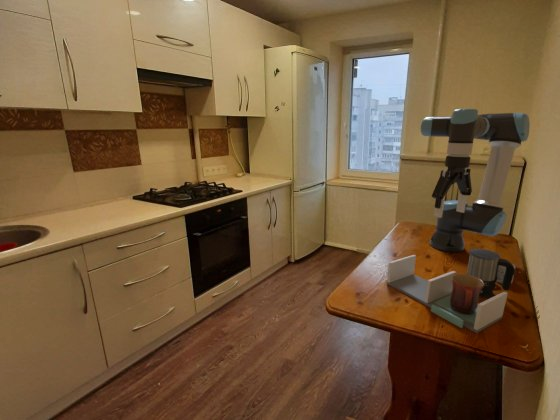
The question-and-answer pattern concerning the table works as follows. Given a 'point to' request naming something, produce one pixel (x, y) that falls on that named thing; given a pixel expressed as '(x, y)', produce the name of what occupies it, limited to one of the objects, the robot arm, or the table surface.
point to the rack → (442, 296)
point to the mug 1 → (465, 293)
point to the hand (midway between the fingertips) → (449, 214)
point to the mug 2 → (502, 273)
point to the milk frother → (489, 270)
